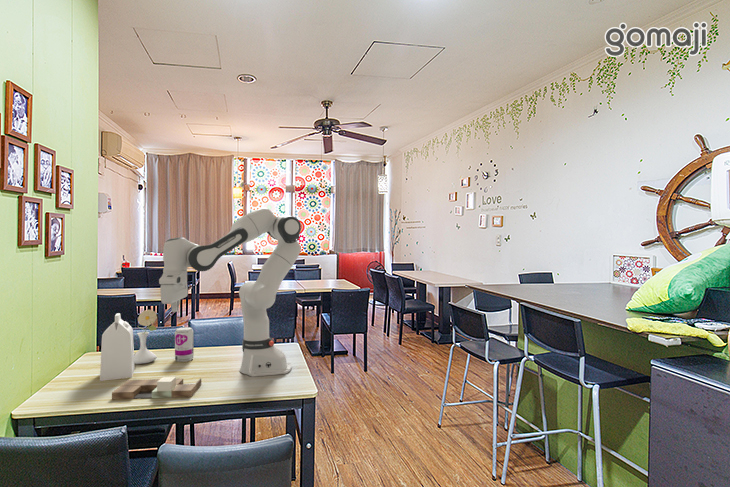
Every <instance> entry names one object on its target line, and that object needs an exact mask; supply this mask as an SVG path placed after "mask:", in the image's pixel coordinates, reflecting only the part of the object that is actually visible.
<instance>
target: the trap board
mask: <svg viewBox="0 0 730 487" xmlns="http://www.w3.org/2000/svg"><path fill="white" fill-rule="evenodd" d="M160 379H161V378H157V379H156V378H155V379H154V378H153V379H151V378H150V379H149V378H148V379H128V380H126V381H125V382H124V383H122V384H121V385H120V386H119V387H117V388H116V389H114V391H112V392H111V400H131V399H137V398H141V399H169V398H192V397H193V395H194V394H195V393H196V392H197V391H198V389H199V388H201V386H202V378H201V377H200V378H199V379H198V380H197V381H196V382H195V383H184V378H176V387H175V388H174V389H172V390H171V391H157V381H159V380H160Z"/></svg>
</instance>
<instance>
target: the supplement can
mask: <svg viewBox="0 0 730 487" xmlns="http://www.w3.org/2000/svg"><path fill="white" fill-rule="evenodd" d="M193 359H194V329H193V327H191V326H183V327H177V328H176V330H175V331H174V360H175V361H176V362H178V363H179V362H181V363H183V362H185V363H186V362H190V361H192V360H193Z"/></svg>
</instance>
